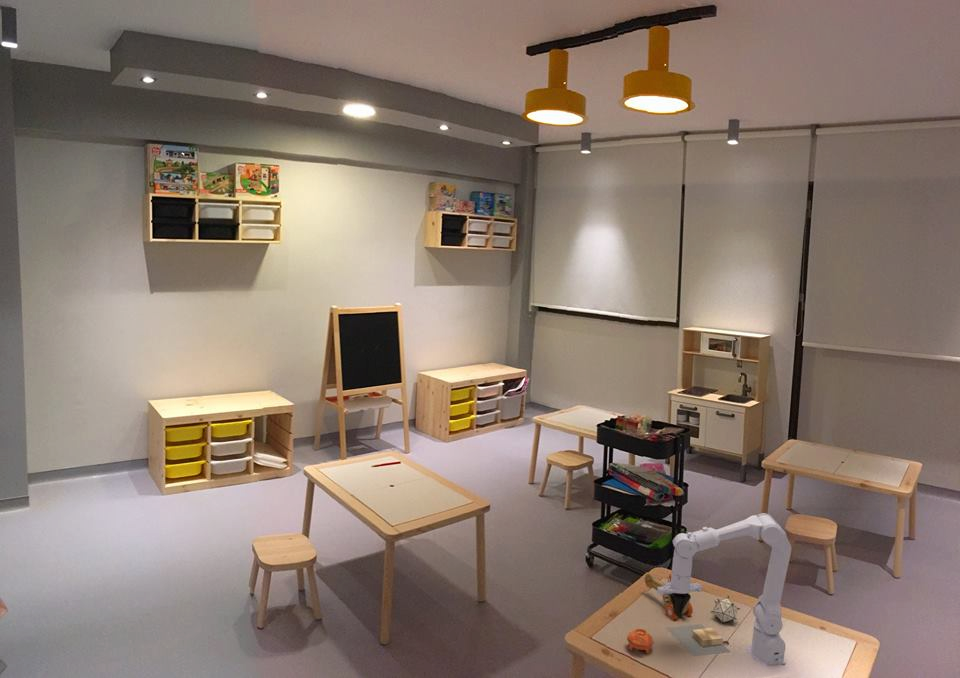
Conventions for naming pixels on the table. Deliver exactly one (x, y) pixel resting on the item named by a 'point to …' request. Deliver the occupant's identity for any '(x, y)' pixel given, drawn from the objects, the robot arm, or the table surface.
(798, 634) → the table surface
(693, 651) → the rubber mat
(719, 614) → the game die
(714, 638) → the oak tile
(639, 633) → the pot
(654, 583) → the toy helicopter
